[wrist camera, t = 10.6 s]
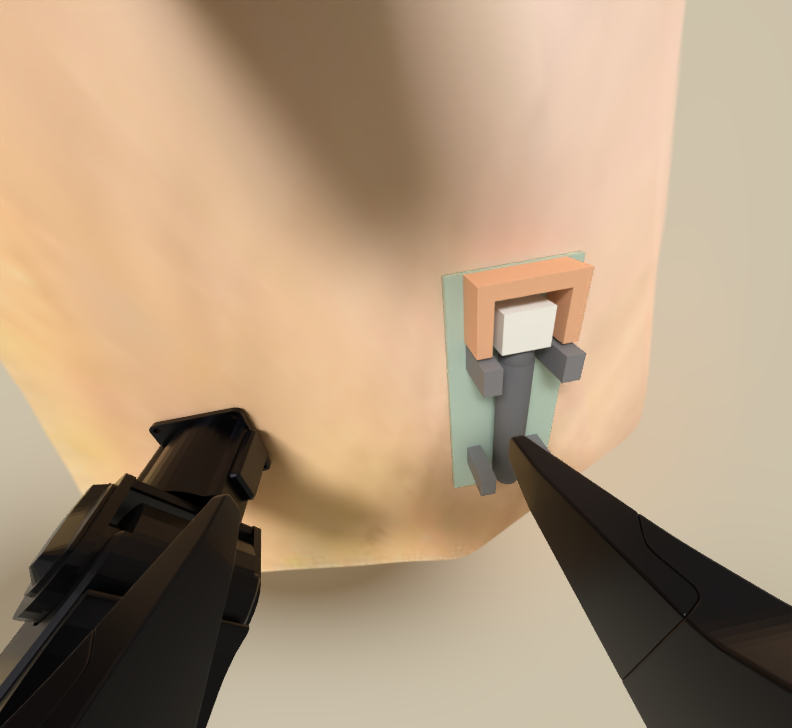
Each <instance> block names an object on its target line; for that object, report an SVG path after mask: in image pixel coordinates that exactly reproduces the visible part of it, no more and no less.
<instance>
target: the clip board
mask: <svg viewBox="0 0 792 728" xmlns="http://www.w3.org/2000/svg"><path fill="white" fill-rule="evenodd" d="M584 258H585V253H584V252H581V251H579V252H573V253H567V254H562V255H556V256H551V257H545V258H539V259H534V260H528V261H523V262H517V263H511V264H506V265H500V266H495V267H489V268H483V269H478V270H472V271H467V272H461V273H455V274H450V275H444V276H442V291H443V309H444V327H445V345H446V363H447V380H448V398H449V416H450V434H451V452H452V470H453V485H454V488H459V487H464V486H469V485H474V484H476V485H477V487H478V490H479V492H480V495H481V496H485V495H490V494H494V493H495V490H496V480H497V479H496V476H495V474H494V472H493V470H492V455H493V436H494V418H495V399H496V396H498V395H502V386H503V371H504V369H503V368H502V366H501V365H500V364H499V363H498V353H499V352H498V351H497V350H496V348H495V347H494V346H493V331H494V307H495V302H496V301H501V300H507V299H512V298H518V297H523V296H528V295H534V294H540V295H541V296H543V297H545V298H546V299H548V300H549V301H551V302H553V303H554V304H556V305H557V311H556V317H555V323H554V330H553V336H552V342H551V347H546V348H541V349H536V350H534V353H535V365H534V372H533V380H532V387H531V395H530V402H529V410H528V417H527V425H526V432H525V436H526V437H527V438H529V439H530V440H532V441H533V442H535V443H536V444H538V445H539V446H540V447H542V448H543V449H545V450H546V451H548V452H549V453H550V451H549V450H548V449H547V447H548V442H549V437H550V432H551V427H552V422H553V416H554V411H555V406H556V401H557V396H558V391H559V386H560V381H561V382H562V383H565V382H570V381H575V380H580V377H581V373H582V369H583V365H584V360H585V356H586V353H585V352H584V351H583V350H581V349H580V348H579V347H577V346H576V345H575V344H573V343H572V342H576V341H578V340H579V335H580V331H581V326H582V321H583V317H584V312H585V308H586V303H587V298H588V294H589V289H590V284H591V280H592V275H593V270H594V266H592V265H589V264H586V263H584Z"/></svg>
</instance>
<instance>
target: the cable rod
mask: <svg viewBox="0 0 792 728" xmlns="http://www.w3.org/2000/svg"><path fill="white" fill-rule="evenodd" d="M556 311H557V305H556V304H554V303H553V302H551V301H549V300H548V299H546V298H545V297H543V296H541V295H540V294H534V295H528V296H523V297H518V298H512V299H507V300H501V301H496V302H495V307H494V331H493V346H494V347H495V348H496V350H497V351H498V352H499V353H498V363H499V364H500V365H501V366H502V368H503V369H504V371H503V386H502V395H498V396H496V399H495V418H494V436H493V455H492V470H493V472H494V474H495V476H496V479H497V480H498V481H499V482H501V483H504V484H511V483H514V482H515V481H516V480H517V478H516V475H515V473H514V471H513V468H512V466H511V463H510V461H509V457H508V451H509V440H510V438H511V437H513V436H518V435H524V436H525V432H526V425H527V417H528V410H529V402H530V395H531V387H532V380H533V372H534V365H535V353H534V350H536V349H541V348H546V347H551V342H552V336H553V330H554V323H555V317H556Z"/></svg>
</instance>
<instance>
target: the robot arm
mask: <svg viewBox="0 0 792 728" xmlns="http://www.w3.org/2000/svg"><path fill="white" fill-rule="evenodd" d="M234 414H237V415H234ZM159 429H160V430H159ZM149 431H150V433H151V434H152V435H153V437H154V438H155V439H156V440H157V442H158V443H159V444H160V445H161V446H160V447H159V449H158V450H157V451H156V453H155V454H154V456H153V457H152V459H151V460H150V461H149V463H148V464H147V466H146V467H145V468H144V470H143V471H142V473H141V474H140V476H139V477H138V478H137V479H136V477H134V476H132V475H130V474H127V473H126V474H125V475H124V476H122V477H121V478H120V479H119V480H118V481H117V482H116V483H115V484H111V483H109V484H102V485H93V486H91V487H90V488H89V489H88V490H87V491H86V493H85V494H84V495H83V496H82V497H81V499H80V500H79V501H78V502H77V504H76V505H75V506H74V507H73V508H72V509H71V511H70V512H69V513H68V514H67V516H66V517H65V518H64V519H63V521H62V522H61V523H60V524H59V526H58V527H57V528H56V530H55V531H54V533H53V534H52V536H51V537H50V538H49V540H48V541H47V543H46V544H45V545H44V547H43V548H42V549H41V551H40V552H39V554H38V555H37V557H36V558H35V559H34V561H33V562H32V564H31V565H30V566H29V570H30V577H31V583H30V585H29V587H28V589H27V590H26V592H25V594H24V596H25V597H24V598H23V600H22V602H21V604H20V605H19V607H18V609H17V611H16V612H15V614H14V616H13V619H14V620H18V621H24V622H25V623H24V624H23V626H22V627H21V628H20V630H19V631H18V632H17V634H16V635H15V636H14V637H13V639H12V640H11V641H10V642H9V644H8V645H7V646H6V648H5V649H4V650H3V652H2V653H1V654H0V728H206V726H207V723H208V720H209V717H210V715H211V712H212V709H213V706H214V703H215V701H216V698H217V695H218V692H219V690H220V687H221V684H222V682H223V679H224V677H225V675H226V673H227V671H228V668H229V666H230V664H231V662H232V660H233V658H234V656H235V654H236V652H237V650H238V649H239V647H240V645H241V644H242V642H243V640H244V639H245V637H246V635H247V633H248V631H249V623H250V621H251V619H252V616H253V614H254V612H255V609H256V606H257V603H258V599H259V594H260V586H261V529H260V528H257V527H255V526H252V527H251V526H248V525H246V524H243V523H241V521H242V518H243V515H244V512H245V509H246V505H247V502H248V500H252V499H253V498H254V497H255V495H256V492H257V488H258V485H259V482H260V478H261V475H262V471H264V470H268V469H269V468H270V465H271V461H270V459H269V457H268V455H267V454H268V452H267V450H266V449H265V447H264V445H263V443H262V441H261V439H260V438H259V436H258V434H257V432H256V431H255V430H253V428H252V426H251V424H250V422H249V421H248V419H247V417H246V415H245V413H244V411H243V410H242V409H240V408H229V409H224V410H219V411H213V412H208V413H203V414H198V415H192V416H187V417H182V418H177V419H171V420H166V421H161V422H156V423H154V424H153V425H152V426H151V427H150V429H149ZM508 457H509V461H510V463H511V466H512V468H513V471H514V473H515V475H516V478H517V480H518V483H519V485H520V488H521V490H522V493H523V495H524V497H525V500H526V502H527V504H528V507H529V509H530V511H531V513H532V515H533V516H534V518H535V520H536V522H537V524H538V526H539V528H540V529H541V531H542V533H543V535H544V537H545V539H546V541H547V542H548V544H549V546H550V548H551V550H552V552H553V553H554V555H555V557H556V559H557V561H558V563H559V564H560V566H561V568H562V570H563V572H564V574H565V576H566V578H567V580H568V581H569V583H570V585H571V587H572V589H573V591H574V592H575V594H576V596H577V598H578V600H579V602H580V603H581V606H582V607H583V609H584V611H585V613H586V615H587V617H588V618H589V620H590V622H591V624H592V626H593V628H594V630H595V631H596V633H597V635H598V637H599V639H600V641H601V643H602V645H603V646H604V648H605V650H606V652H607V654H608V656H609V657H610V659H611V661H612V663H613V665H614V667H615V669H616V670H617V672H618V674H619V676H620V678H621V679H622V681H623V684H624V686H625V688H626V689H627V691H628V693H629V695H630V697H631V699H632V700H633V702H634V704H635V706H636V708H637V710H638V712H639V713H640V715H641V717H642V719H643V721H644V723H645V724H646V726H647V728H792V606H791V605H789V604H787V603H785V602H783V601H782V600H780V599H778V598H776V597H774V596H773V595H771V594H769V593H768V592H766V591H764V590H762V589H761V588H759V587H757V586H756V585H754V584H752V583H751V582H749V581H747V580H746V579H744V578H742V577H740V576H739V575H737V574H735V573H733V572H732V571H730V570H728V569H727V568H725V567H723V566H722V565H720V564H718V563H717V562H715V561H713V560H712V559H710V558H708V557H706V556H705V555H703V554H701V553H700V552H698V551H697V550H695V549H693V548H692V547H690V546H688V545H687V544H685V543H683V542H682V541H680V540H679V539H677V538H675V537H674V536H672V535H671V534H669V533H668V532H666V531H665V530H663V529H662V528H660V527H659V526H657V525H656V524H654V523H653V522H651V521H650V520H648V519H646V518H645V517H644V516H642V515H641V514H638V513H637V512H636V511H635V510H633V509H632V508H630V507H629V506H627V505H626V504H624V503H623V502H621V501H620V500H619V499H617V498H616V497H614V496H613V495H611V494H610V493H608V492H607V491H605V490H604V489H602V488H601V487H599V486H598V485H596V484H595V483H593V482H592V481H591V480H589V479H588V478H586V477H584V476H583V475H582V474H580V473H579V472H577V471H576V470H574V469H573V468H571V467H570V466H568V465H567V464H566V463H564V462H563V461H561V460H560V459H558V458H557V457H555V456H554V455H552V454H551V453H549V452H548V451H546V450H545V449H543V448H542V447H540V446H539V445H538V444H536V443H535V442H533V441H532V440H530V439H529V438H527V437H526V436H524V435H518V436H513V437H511V438H510V440H509V451H508Z"/></svg>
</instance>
